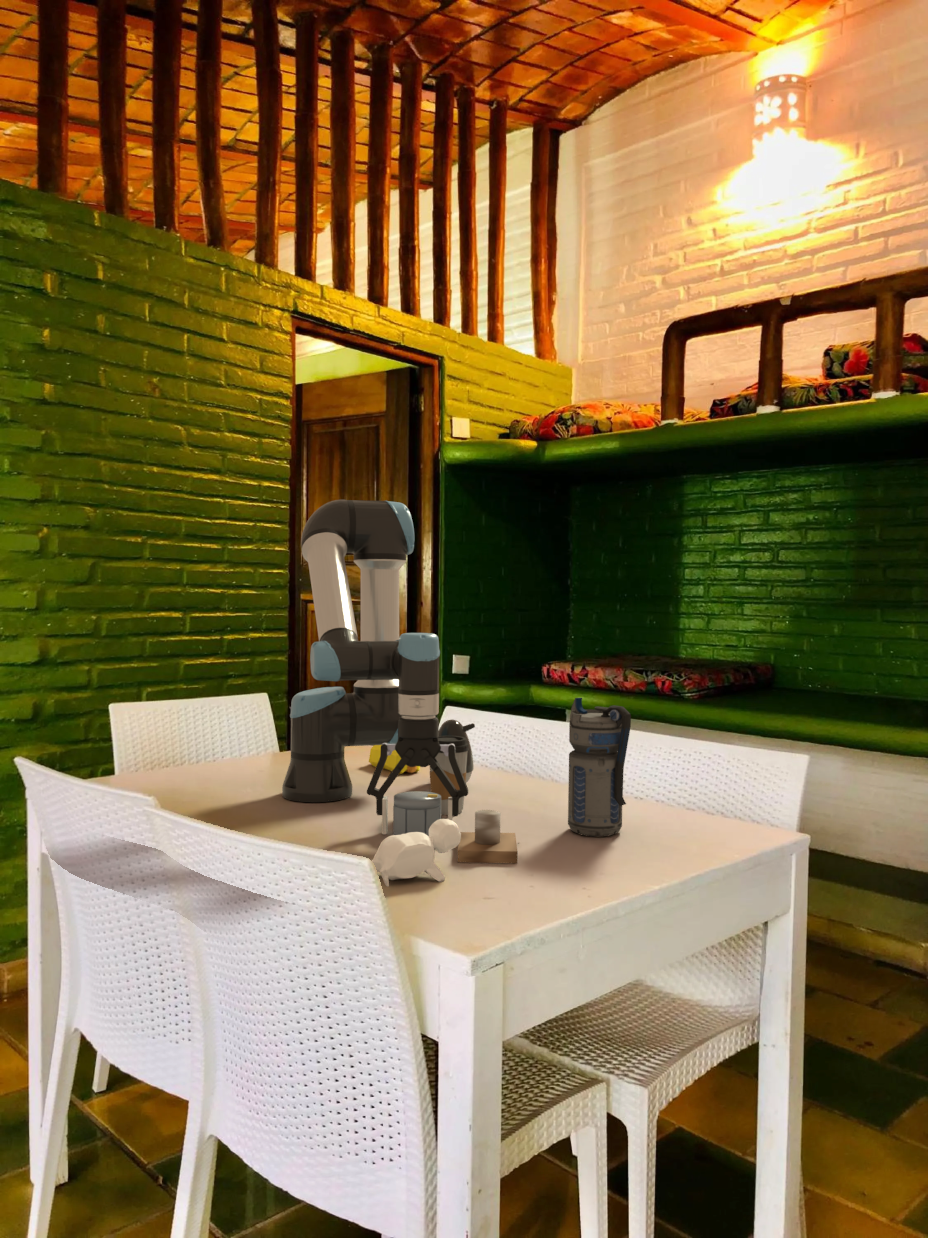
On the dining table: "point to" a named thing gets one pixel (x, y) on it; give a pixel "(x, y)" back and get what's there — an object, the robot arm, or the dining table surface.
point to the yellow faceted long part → (389, 760)
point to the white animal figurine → (416, 852)
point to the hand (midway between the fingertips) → (417, 833)
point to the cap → (415, 812)
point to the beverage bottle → (597, 768)
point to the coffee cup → (449, 770)
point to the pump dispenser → (458, 730)
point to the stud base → (487, 850)
